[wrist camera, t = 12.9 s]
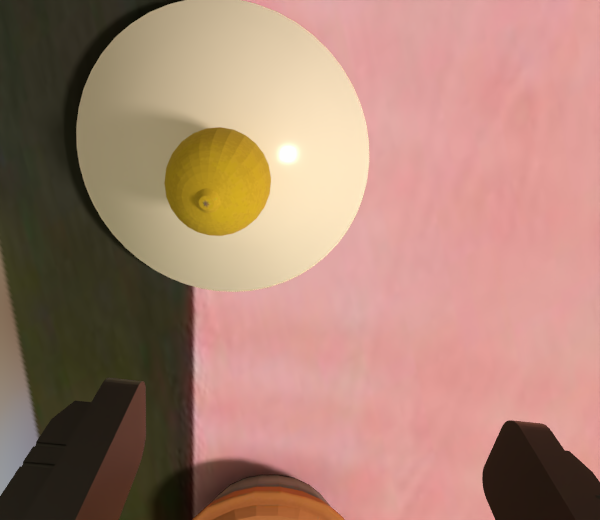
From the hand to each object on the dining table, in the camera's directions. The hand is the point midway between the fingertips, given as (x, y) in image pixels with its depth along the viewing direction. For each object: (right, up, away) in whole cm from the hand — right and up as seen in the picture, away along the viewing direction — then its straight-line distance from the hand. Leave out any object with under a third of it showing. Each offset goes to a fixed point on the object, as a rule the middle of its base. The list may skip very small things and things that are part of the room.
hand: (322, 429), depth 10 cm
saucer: (-5, +10, +19) cm, 22 cm away
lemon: (-5, +10, +18) cm, 21 cm away
